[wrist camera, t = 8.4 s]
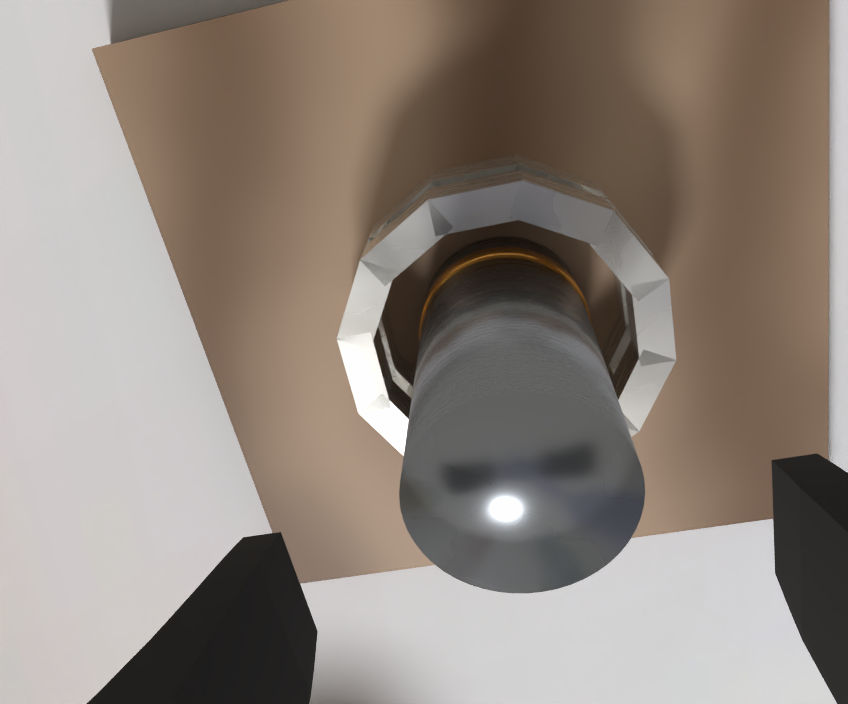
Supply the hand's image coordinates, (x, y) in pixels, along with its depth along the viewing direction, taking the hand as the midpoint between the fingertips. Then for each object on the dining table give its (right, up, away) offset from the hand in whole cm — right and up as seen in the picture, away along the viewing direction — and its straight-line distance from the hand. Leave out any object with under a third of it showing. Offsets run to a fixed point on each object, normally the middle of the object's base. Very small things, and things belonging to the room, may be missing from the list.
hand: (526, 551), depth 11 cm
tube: (+1, +4, +8) cm, 9 cm away
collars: (+1, +5, +9) cm, 10 cm away
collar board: (+1, +5, +9) cm, 10 cm away
